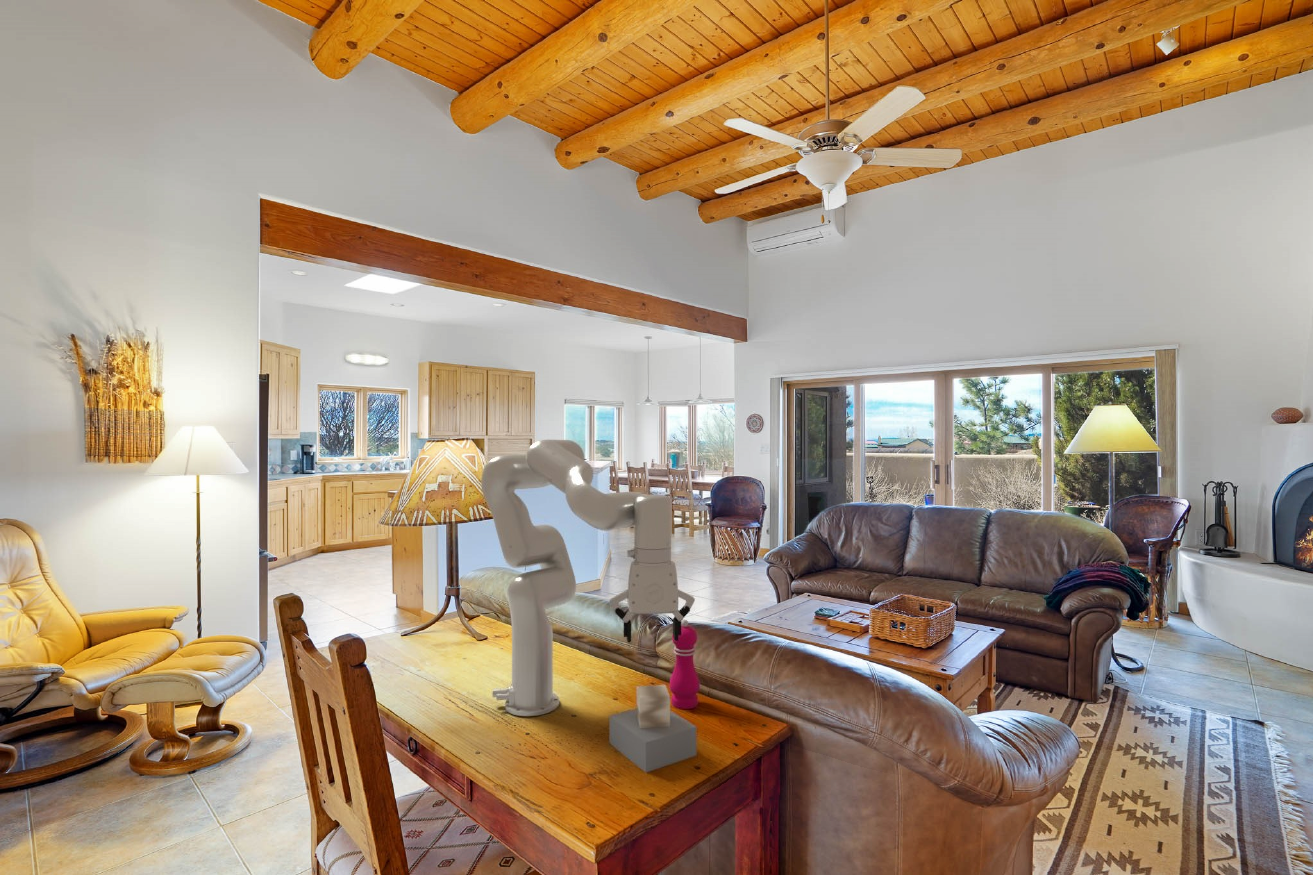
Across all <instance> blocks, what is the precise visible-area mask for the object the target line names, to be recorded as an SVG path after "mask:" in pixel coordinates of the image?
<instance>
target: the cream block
mask: <svg viewBox="0 0 1313 875" xmlns="http://www.w3.org/2000/svg"><path fill="white" fill-rule="evenodd" d="M636 708H637V719H638V722H639V726H640V728H651V727H667V726H670V711H671V696H670V693H669V689H668V688H667V685H666V684H656V685H654V684H653V685H636Z"/></svg>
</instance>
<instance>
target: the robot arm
mask: <svg viewBox="0 0 1313 875" xmlns="http://www.w3.org/2000/svg"><path fill="white" fill-rule="evenodd" d="M584 452H585V451H584V450H583V448H582V447H581V445H579V444H578V443H577V442H575V441H573V440H570V439H541V440H538V441H535V442H534V443H532V444H531V445H530V446H529V448H528V449H527V451H526V454H505V455H499V456H496V457H493V458H492V459H490V460H489V461H488V462H486V464H485V465H484V467H483V470H482V474H481V479H480V484H481V485H480V486H481V490H482V495H483V498H484V501H485V503H486V504H487V507H488V509H489V511H490V513H491V515H492V519H493V522H494V527H495V531H496V534H497V537H498V541H499V544H500V548H501V552H502V555H503V559H504V561H505V563H506V565H508V566H509V567H510V568H514V569H522V568H527V567H528V568H529V567H532V566H538V565H539V566H540V567H539V569H535V570H531V571H530V570H529V571H525V572H524V573H521V574H518V575H517V576H515V577H513V579H511V582H510V583H509V584H508V588H507V595H506V596H507V602H508V606H509V607H508V608H509V611H510V620H511V685H510V686H506V688H493V689H492V698H496V701H503V700H504V701H505V702H504V709H505V710H506V712H507V713H509V714H512V715H514V716H519V717H535V716H541V715H545V714H549V713H551V712H553V711H554V710H556V709H557V708H558V707H559V705H560V697H559V696H558V695H557V694H556V693H554V690H553V689H554V688H553V686H554V685H553V684H554V682H553V678H554V677H553V676H554V675H553V674H554V673H553V671H554V669H553V666H554V663H553V662H554V660H553V658H554V656H553V654H554V652H553V650H554V649H553V648H554V647H553V646H554V642H553V641H554V638H553V636H554V634H553V632H554V631H553V626H552V623H551V621H550V619H549V617H548V616H547V612H546V611H547V610H549V609H551V608H555V607H559V606H561V605H565V604H567V603H569V602H570V601H572V600H573V598H574V597H575V594H576V592H577V582H576V576H575V572H574V569H573V566H572V563H571V560H570V557H569V552H568V550H567V549H568V548H567V546H566V543H565V540H564V537H563V536H562V534H561V533H560V531H559V529H557V528H555V527H554V526H552V525H549V524H540V525H538V524H537V525H535V524H533V522H532V520H531V516H530V513H529V510H528V508H527V505H526V503H525V502H524V500H522V498H521V497H520V496H518V495H517V493H515V490H525V489H526V490H527V489H537V488H538V489H539V488H544V487H547V486H550V485H552V486H553V487H555V488H556V489H558V490H559V491H561V492H562V493H563V494H565V499H566V502H567V505H568V507H569V509H570V510H571V512H572V513H573V514H574V515H575V516H576V517H577V518H579V519H581V520H582V521H583V522H584V523H586V524H587V525H589V526H591V527H592V528H594V529H597V530H600V531H605V532H606V531H614V530H620V529H627V528H633V527H634V540H633V541H634V542H633V543H634V546H633V548H632V549H627V553H626V555H627V557H628V558H632V559H633V560H634V561H633V560H632V561H631V562H630V567H629V574H628V582H627V589H626V590H624V591H622V592H620V593H619V594H617V595H615V596H613V597H612V598H610V600H609V603H610V605H611V607H612V608H613V611H614V613H615V615H617V617H619V619H620V620H622V622H623V638H626V641H627V642H626V643H631V642H632V621H631V619H632V617H633V616H634V615H662V614H664V615H665V614H673V616H674V617H673V618H672V634H673V637H674V640H676V641H678V640H679V635H681V621H682V620H684V618H685V617H686V616H687V615H688V614H690V611H691V609H692V607H693V605H694V603H695V600H696V599H695V597H693V596H692V595H691V594H689V593H686V592H685V591H683V590H681V589H679V584H678V583H679V582H678V573H677V567H676V562H674V561H673V560H672V501H671V498H670V497H668V496H667V495H665V494H645V493H641V492H637V491H622V492H621V491H619V492H609V493H604V492H602V491H600V490H598V489H597V488H595V487H594V486H592V485H591V484H592V482H593V479H594V469H593V467H592V465H591V464H590V463H588V462H587V461H585V454H584ZM679 598H680V599H681V600H684V601H685V603H684V605H683V606H682V607H680V609H679ZM625 600H627V608H626V609H625V610H623V609H622V607H620V605H619V604H620V603H621V602H623V601H625Z"/></svg>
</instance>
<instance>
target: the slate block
mask: <svg viewBox="0 0 1313 875" xmlns="http://www.w3.org/2000/svg"><path fill="white" fill-rule="evenodd" d="M608 720H609V722H608V723H609V725H608V726H609V733H608V734H609V737H608V738H609V740H608V741H609V744H610V745H611V746H612V747H614V748H615V749H616V750H617V751H618V752H620V753H621V754H622V755H623V756H625V757H626V758H627V759H628V760H629V761H631V762H632V763H633V764H634V765H635V766H637V767H638V768H639V769H641V770H642V771H643V772H645V773H649V772H651V771H654V770H658V769H660V768H664V767H666V766H669V765H673V764H676V763H678V762H681V761H684V760H688V759H690V758H693V757H696V756H697V752H698V751H697V750H698V749H697V748H698V747H697V742H698V741H697V739H698V738H697V735H698V734H697V728H698V727H697V726H696V725H694V724H693V723H691V722H689V721H688V720H687V719H685V718H683V717H682V716H680V715H678V714H677V713H675V712H674V711H671V710H670V726H667V727H651V728H640V726H639V722H638V719H637V707H636V708H633V709H630V710H627V711H622V712H619V713H614V714H611V715H609V718H608Z"/></svg>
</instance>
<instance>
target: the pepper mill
mask: <svg viewBox="0 0 1313 875" xmlns="http://www.w3.org/2000/svg"><path fill="white" fill-rule="evenodd" d="M671 640H672V643H673V644H674V646H673V647H674V648H673V654H675V665H674V670H673V672H672V674H671V676H670V679H669V685H668V686H669V691H670V692H671V693H672V695H671V700H670V704H671V705H672V706H673V707H674V708H676V709H679V710H680V709H681V710H689V709H693V708H696V707H697V706H698V703H699V702H698V700H699V699H698V698H699V697H698V695H697V693H699V690H700V687H701V685H700V679H699V675H698V674H697V671H696V668H695V666H694V655H695V654H696V647H695V645H696V644H697V642H698V634H697V632H696V630H695V628H693V627H692V626H689V621H688V620H687V619H683V620H682V621H681V635H679V640H678V641H676V640H674V637H673V633H672V634H671Z"/></svg>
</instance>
